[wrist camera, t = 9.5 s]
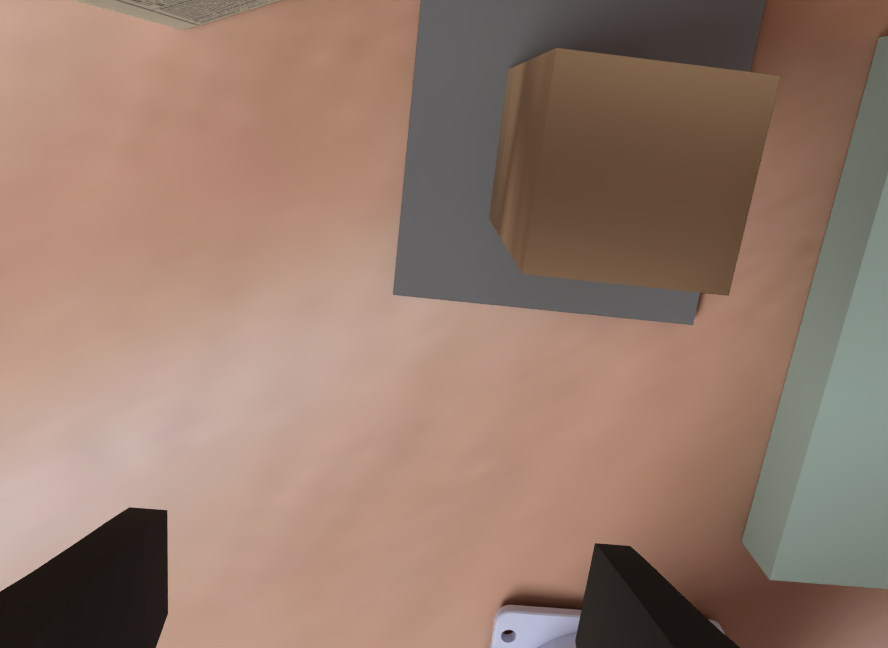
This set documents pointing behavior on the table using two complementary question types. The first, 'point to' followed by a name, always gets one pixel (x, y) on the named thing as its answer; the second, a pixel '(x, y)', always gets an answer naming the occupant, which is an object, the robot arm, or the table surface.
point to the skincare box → (179, 10)
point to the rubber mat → (478, 129)
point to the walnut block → (629, 168)
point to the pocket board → (837, 388)
